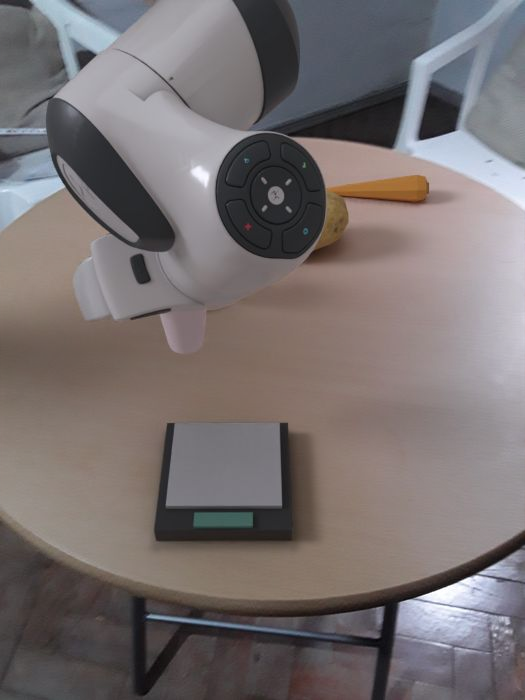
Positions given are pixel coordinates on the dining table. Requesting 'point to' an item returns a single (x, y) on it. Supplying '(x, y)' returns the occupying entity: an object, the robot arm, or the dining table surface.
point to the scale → (225, 483)
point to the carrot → (387, 189)
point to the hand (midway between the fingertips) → (177, 279)
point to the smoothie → (184, 330)
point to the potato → (333, 220)
